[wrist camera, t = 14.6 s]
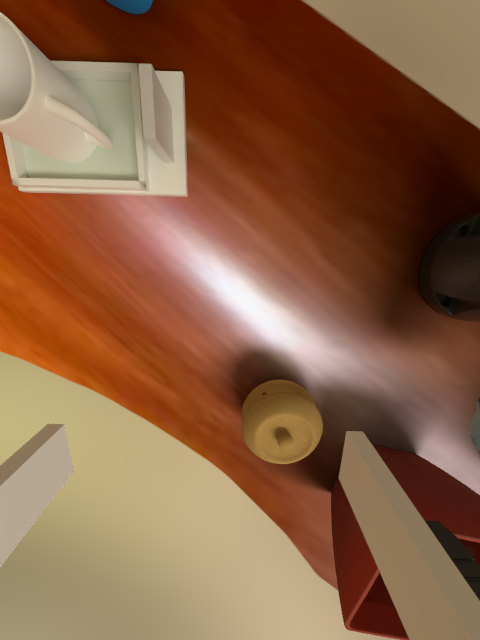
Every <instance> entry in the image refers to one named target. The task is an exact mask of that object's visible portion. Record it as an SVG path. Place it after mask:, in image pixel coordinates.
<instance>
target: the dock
mask: <svg viewBox="0 0 480 640" xmlns="http://www.w3.org/2000/svg"><path fill="white" fill-rule="evenodd" d="M51 62H52V63H53V64H54V65H55V66H56V67H57V68H58V69H59V70H60V71H61V72H62V73H63V74H64V75H65V76H66V77H67V78H68V79H69V81H70V82H71V83H72V84H73V85H74V86H75V87H76V88H77V89H78V90H79V91H80V92H81V93H82V94H83V95H84V96H85V97H86V99H87V100H88V101H89V103H90V104H91V106H92V108H93V110H94V112H95V114H96V117H97V121H98V126H99V128H100V129H101V130H102V131H103V132H104V133H106V134H107V135H108V136H109V137H110V139H111V140H112V142H113V146H112V148H111V149H105V148H102V147H100V146H96V148H95V150H94V151H93V153H92V154H91V155H90V156H89V157H88V158H87V159H85V160H83V161H81V162H77V163H65V162H61V161H58V160H56V159H53V158H51V157H49V156H47V155H45V154H43V153H41V152H39V151H37V150H35V149H33V148H31V147H29V146H27V145H25V144H24V143H22V142H20V141H18V140H16V139H14V138H12V137H10V136H8V135H6V134H4V133H3V138H4V143H5V148H6V153H7V158H8V163H9V168H10V173H11V178H12V183H13V185H15V186H18V188H19V191H23V192H31V193H69V194H106V195H143V196H180V197H188V188H187V153H186V118H185V84H184V75H183V72H180V71H155V70H154V68H153V66H152V64H139V66H138V64H137V63H113V62H79V61H51Z"/></svg>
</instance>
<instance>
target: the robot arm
mask: <svg viewBox="0 0 480 640" xmlns="http://www.w3.org/2000/svg"><path fill="white" fill-rule="evenodd" d="M419 284H420V289H421V293H422V295H423V297H424V299H425V301H426V302H427V303H428V305H429V306H430V307H431V308H432V309H434V310H435V311H436V312H438V313H440V314H442V315H445V316H448V317H451V318H455V319H458V320H463V321H480V212H475V213H471V214H467V215H465V216H462V217H460V218H458V219H456V220H454V221H453V222H451V223H450V224H448V225H447V226H446V227H445V228H443V229H442V230H441V231H440V232H439V233H438V234H437V235H436V236H435V238H434V239H433V240H432V242H431V243H430V245H429V246H428V248H427V250H426V252H425V254H424V256H423V259H422V262H421V265H420V271H419ZM469 432H470V437H471V439H472V441H473V443H474V445H475V446H476V447H477V450H478V452H479V453H480V397H479V398H478V401H477V408H476V411H475V413H474V416H473V418H472V421H471V423H470V427H469ZM72 473H73V467H72V462H71V456H70V452H69V446H68V441H67V436H66V431H65V426H64V424H47V425H46V426H45V427H44V428H43V429H42V430H40V432H38V433H37V434H36V435H35V436H34V437H32V438H31V439H30V440H29V441H28V442H27V443H26V444H25V445H23V446H22V447H21V448H20V449H19V450H18V451H17V452H15V453H14V454H13V455H12V456H11V457H10V458H9V459H7V460H6V461H5V462H4V463H3V464H2V465H1V466H0V567H1V566H2V564H3V563H4V562H5V560H6V559H7V558H8V556H9V555H10V554H11V553H12V551H13V550H14V549H15V547H16V546H17V545H18V543H19V542H20V541H21V540H22V538H23V537H24V536H25V534H26V533H27V532H28V531H29V529H30V528H31V527H32V525H33V524H34V523H35V521H36V520H37V519H38V517H39V516H40V515H41V513H42V512H43V511H44V510H45V508H46V507H47V506H48V504H49V503H50V502H51V500H52V499H53V498H54V497H55V495H56V494H57V493H58V491H59V490H60V489H61V488H62V486H63V485H64V484H65V482H66V481H67V480H68V478H69V477H70V476H71V474H72ZM339 480H340V482H341V485H342V487H343V489H344V491H345V494H346V496H347V498H348V501H349V503H350V505H351V507H352V510H353V512H354V514H355V517H356V519H357V521H358V523H359V526H360V528H361V530H362V532H363V535H364V537H365V539H366V542H367V544H368V546H369V548H370V551H371V553H372V555H373V558H374V560H375V562H376V564H377V567H378V569H379V571H380V574H381V576H382V578H383V580H384V583H385V585H386V587H387V590H388V592H389V594H390V596H391V599H392V601H393V603H394V606H395V608H396V610H397V612H398V615H399V617H400V619H401V622H402V624H403V626H404V628H405V631H406V633H407V635H408V638H409V640H480V566H479V565H478V563H475V561H474V558H473V557H472V556H471V554H470V553H469V552H468V550H467V549H466V548H465V547H464V545H463V544H462V543H461V541H460V540H459V539H458V538H457V537H456V536H455V535H454V534H453V533H452V532H451V531H450V530H448V529H447V528H446V527H445V526H444V525H443V524H442V523H441V522H440V521H425V520H424V519H423V518H422V517H421V515H420V514H419V512H418V511H417V509H416V508H415V506H414V505H413V503H412V502H411V501H410V499H409V498H408V496H407V495H406V493H405V492H404V490H403V489H402V488H401V486H400V485H399V483H398V482H397V480H396V479H395V477H394V476H393V474H392V473H391V472H390V470H389V469H388V467H387V466H386V464H385V463H384V461H383V460H382V459H381V457H380V456H379V454H378V453H377V451H376V450H375V448H374V447H373V445H372V444H371V443H370V441H369V440H368V438H367V437H366V435H365V434H364V432H363V431H346V437H345V443H344V449H343V455H342V461H341V467H340V473H339Z"/></svg>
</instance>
